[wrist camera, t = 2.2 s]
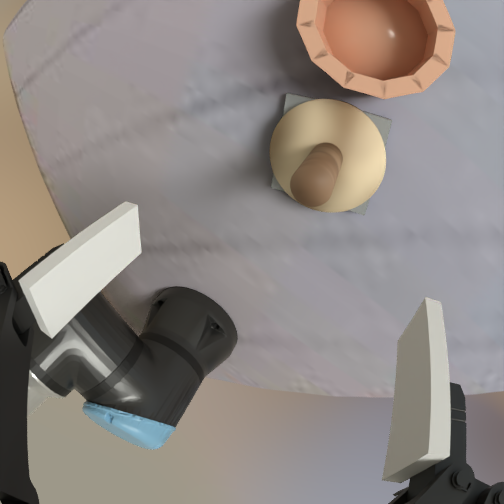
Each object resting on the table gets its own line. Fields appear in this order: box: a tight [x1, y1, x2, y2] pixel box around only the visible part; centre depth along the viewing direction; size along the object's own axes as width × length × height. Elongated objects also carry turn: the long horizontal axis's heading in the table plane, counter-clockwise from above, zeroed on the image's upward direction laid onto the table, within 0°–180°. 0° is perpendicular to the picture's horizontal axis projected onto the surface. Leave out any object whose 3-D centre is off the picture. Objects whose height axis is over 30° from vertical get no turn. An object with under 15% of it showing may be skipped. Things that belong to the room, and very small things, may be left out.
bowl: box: [296, 0, 455, 99], centre depth 19 cm, size 12×12×6 cm
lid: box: [269, 99, 386, 212], centre depth 25 cm, size 11×11×9 cm
